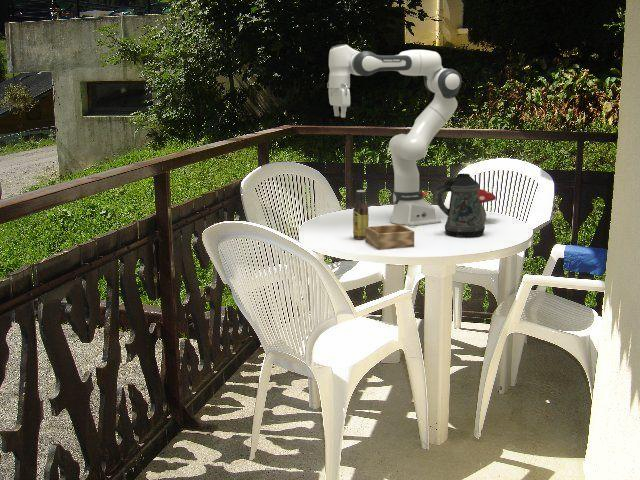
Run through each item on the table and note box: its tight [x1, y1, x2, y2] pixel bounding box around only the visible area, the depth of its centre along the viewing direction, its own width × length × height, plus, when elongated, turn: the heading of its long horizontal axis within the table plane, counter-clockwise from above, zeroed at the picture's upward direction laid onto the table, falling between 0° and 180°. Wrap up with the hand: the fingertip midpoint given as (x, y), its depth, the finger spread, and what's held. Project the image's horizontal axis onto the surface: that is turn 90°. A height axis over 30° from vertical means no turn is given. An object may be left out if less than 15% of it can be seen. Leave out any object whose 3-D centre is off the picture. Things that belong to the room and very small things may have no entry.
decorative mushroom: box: [478, 188, 497, 223], centre depth 347 cm, size 16×16×15 cm
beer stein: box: [435, 173, 486, 239], centre depth 321 cm, size 16×19×25 cm
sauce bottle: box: [352, 189, 370, 240], centre depth 317 cm, size 6×6×20 cm
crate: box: [365, 224, 415, 251], centre depth 307 cm, size 15×15×6 cm
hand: (340, 116), depth 333 cm, fingers open, 8 cm apart
